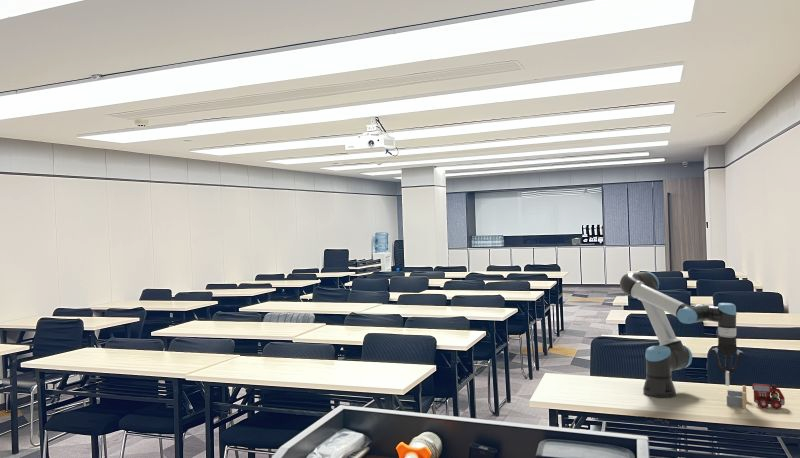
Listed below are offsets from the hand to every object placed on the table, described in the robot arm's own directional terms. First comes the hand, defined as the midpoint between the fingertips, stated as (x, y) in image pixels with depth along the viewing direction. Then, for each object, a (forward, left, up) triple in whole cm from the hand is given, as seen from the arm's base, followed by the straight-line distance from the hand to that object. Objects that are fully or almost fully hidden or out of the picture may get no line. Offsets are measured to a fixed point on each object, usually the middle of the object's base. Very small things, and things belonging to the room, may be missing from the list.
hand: (727, 385), depth 270 cm
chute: (+3, 0, -8) cm, 9 cm away
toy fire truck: (+16, 0, -8) cm, 18 cm away
